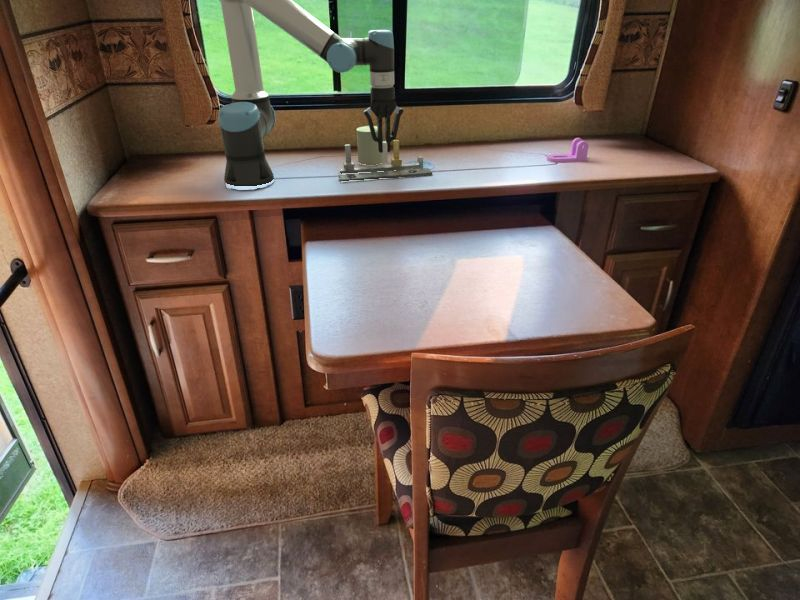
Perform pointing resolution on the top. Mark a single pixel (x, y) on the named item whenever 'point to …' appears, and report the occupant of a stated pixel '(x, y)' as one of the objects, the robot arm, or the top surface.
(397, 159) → the slider
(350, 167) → the rail
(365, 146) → the can
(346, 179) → the hole plate
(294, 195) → the top surface
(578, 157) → the bracket
